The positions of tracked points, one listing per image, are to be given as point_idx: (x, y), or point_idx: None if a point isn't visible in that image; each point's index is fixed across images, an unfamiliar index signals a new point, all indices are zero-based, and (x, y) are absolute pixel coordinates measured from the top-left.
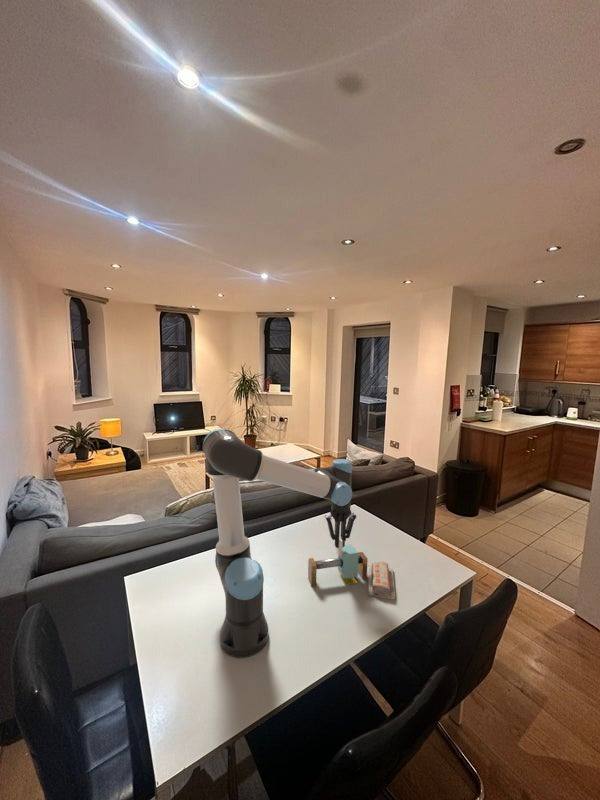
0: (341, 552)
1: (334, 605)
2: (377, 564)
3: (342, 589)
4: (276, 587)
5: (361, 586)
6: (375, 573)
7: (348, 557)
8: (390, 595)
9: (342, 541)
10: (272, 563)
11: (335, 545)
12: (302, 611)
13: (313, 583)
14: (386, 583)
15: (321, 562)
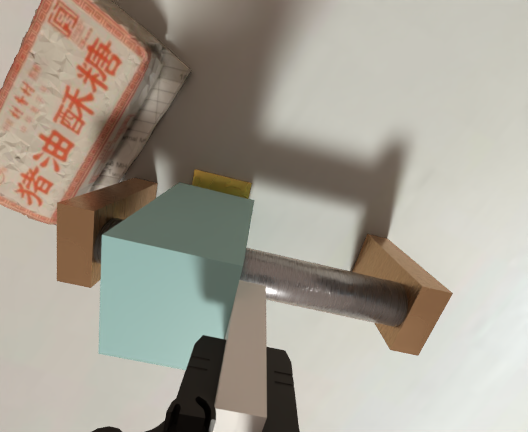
0: (243, 300)
1: (376, 91)
2: (27, 197)
3: (280, 165)
4: (503, 288)
5: (188, 142)
6: (77, 135)
7: (207, 241)
8: None
9: (221, 399)
10: (429, 397)
11: (288, 378)
12: (516, 125)
13: (383, 241)
14: (55, 16)
15: (370, 299)
